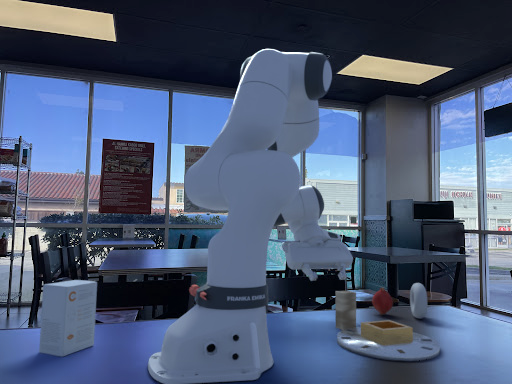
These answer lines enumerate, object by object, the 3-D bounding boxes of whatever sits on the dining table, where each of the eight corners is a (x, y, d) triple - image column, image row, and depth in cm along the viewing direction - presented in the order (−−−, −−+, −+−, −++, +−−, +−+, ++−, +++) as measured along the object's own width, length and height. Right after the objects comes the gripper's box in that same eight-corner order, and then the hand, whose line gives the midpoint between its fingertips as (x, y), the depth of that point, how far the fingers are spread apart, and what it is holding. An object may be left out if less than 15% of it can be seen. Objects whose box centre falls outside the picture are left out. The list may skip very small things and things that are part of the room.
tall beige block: (342, 330, 97) (342, 293, 98) (335, 327, 100) (335, 291, 101) (356, 329, 98) (356, 292, 99) (348, 326, 101) (348, 290, 102)
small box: (71, 341, 83) (75, 279, 84) (94, 345, 80) (98, 281, 82) (37, 352, 75) (42, 283, 76) (62, 357, 73) (66, 286, 74)
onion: (371, 312, 119) (370, 285, 120) (390, 313, 118) (390, 286, 119) (374, 316, 113) (373, 288, 114) (394, 317, 112) (394, 289, 113)
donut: (429, 322, 107) (428, 285, 108) (415, 321, 107) (415, 284, 108) (421, 315, 116) (420, 280, 117) (409, 314, 117) (408, 280, 118)
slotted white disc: (379, 366, 72) (379, 342, 72) (319, 336, 91) (319, 317, 91) (463, 354, 79) (462, 333, 80) (391, 329, 99) (390, 312, 99)
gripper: (283, 233, 111) (299, 272, 101) (343, 234, 119) (364, 270, 109) (276, 248, 115) (291, 287, 105) (335, 248, 123) (354, 284, 113)
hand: (329, 278), depth 107 cm, fingers open, 8 cm apart
